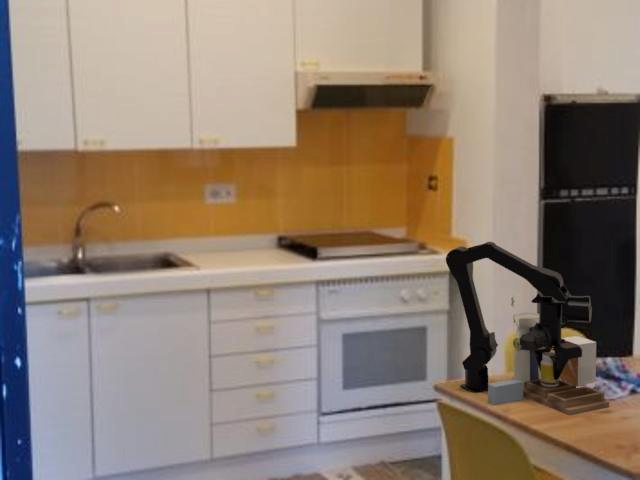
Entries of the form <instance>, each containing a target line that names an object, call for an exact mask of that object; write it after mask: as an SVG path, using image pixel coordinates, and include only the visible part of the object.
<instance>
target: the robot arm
mask: <svg viewBox="0 0 640 480" xmlns="http://www.w3.org/2000/svg"><path fill="white" fill-rule="evenodd" d="M484 259H488V260H490V261H492V262H494V263H495V264H498V265H499V266H501V267H503V268H505V269H506V270H508V271H510V272H512V273H514V274H516V275H517V276H519V277H521V278H522V279H525V281H527V282H528V283H529V284H530V285H531V286H532V288H534V289H535V290H537V291H538V293H537V294H536V296H535V297H534V298H532V300H531V303H533V304H538V305H539V307H538V308H539V313H538V314H539V323H536V325H535V330H533V331H530V332H528V333H527V334H523V335H522V336H521V337H520V345H522V347H523V349H526V350H529V351H531V352H532V353H533V354H534V355H535V357H536V360H537V363H538V366H539V369H540V372H541V361H542V360H543V359H542V354H543V353H545V352H551V351H554V353H555V355H551V356H549V357H550V358H551V360H552V361H553V375H554V380H558V379H559V377H560V375H561V373H562V371H563V369H564V367H565V365H566V364H567V362H568V361H569V359H573V358H579V357H582V349H581V347H580V346H577V345H574V344H565V345H561V343H565V339H562V338H563V337H562V329H564V328H566V324H565V323H563V322H562V321H563V320H562V318H565V319H567V322H576V323H591V321H592V316H593V315H592V313H593V307H592V301H591V296H590V295H583V296H581V295H571V292H570V291H569V290H568V289H567V287H566V286H565V284H564V279H563V276H562V274H561V273H559V272H557V271H554V270H551V269H549V268H546V267H541V266H537V265H535V264H532V263H530V262H528V261H526V260H525V259H522V258H521V257H519V256H517V255H515V254H513V252H512V253H511V252H510V251H508V250H506V249H504V248H502V247H501V246H499V245H497V244H496V243H495V242H493V241H486V242H485V243H481V244H477V245H473V246H470V247H466V246H458V247H456V248H453V249H452V250H450V251H449V252H448V253H447V254H446V256H445V263H446V265H447V267H448V270H449V272H450V274H451V275H452V277H453V278H454V280H455V282H456V284H457V286H458V291H459V294H460V298H461V302H462V307H463V310H464V313H465V318H466V322H467V325H468V328H469V355H468V356H467V357H466V358H465V359H464V360H463V361H462V362H461V363H462V366H463V367H462V368H463V370H464V371H465V372H464V376H465V378H464V379H465V380H464V382H465V383H464V384H460V387H461V388H463V389H465V390H467V391H470V392H472V393H477V392H482V391H488V384H489V368H488V366H487V364H489V362H490V361H491V360H492V358H494V357H495V355H496V353H497V348H498V346H499V344H498V342H497V340H496V334H495V331H492V332H489V330H488V329H487V327H486V323H485V321H484V317H483V313H482V309H481V305H480V301H479V297H478V293H477V290H476V286H475V281H474V278H473V277H474V262H478V261H480V260H484ZM562 308H563V309H562ZM562 315H563V316H562Z"/></svg>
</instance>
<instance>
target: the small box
mask: <svg viewBox="0 0 640 480" xmlns="http://www.w3.org/2000/svg"><path fill="white" fill-rule="evenodd" d="M561 338H562V339H565V343H561V345H565V344H574V345H577V346H580V347H581V349H582V357H579V358H573V359H569V361H568V362H567V364H566V365H565V367H564V369H563V371H562V373H561V375H560V377H559V379H561V380H563V381H566V382H568V383H571V384H574V385H576V386H577V387H578V386H581V385H585V384H588V383H593V382H596V381H597V379H596V377H597V373H596V372H597V341H594V340H591V339H589V338H585V337H582V336H579V335H574V336H567V337H561Z"/></svg>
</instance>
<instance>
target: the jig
mask: <svg viewBox="0 0 640 480" xmlns="http://www.w3.org/2000/svg"><path fill="white" fill-rule="evenodd" d="M524 397H525V398H527V399H528V400H532V401H534V402H537V403H539V404H542V405H544V406H546V407H549V408H551V409H554V410H556V411H558V412H561V413H563V414H566V415H568V416H571V415H575V414H580V413H586V412H590V411H595V410H601V409H604V408H609V407H610V401H607V400H605V392H603V391H600V390H598V389H596V388H590V387H587V386H586V387H580V388H576V385H574V384H571V383H568V382H565V381H563V380H560V379H559V385H558V386H556V387H546V386H543V385H541V379H537V380H532V381H526V382H524V386H523V398H524Z"/></svg>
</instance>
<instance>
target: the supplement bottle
mask: <svg viewBox="0 0 640 480" xmlns="http://www.w3.org/2000/svg"><path fill="white" fill-rule="evenodd" d="M551 355H555V352H553V351H552V352H545V353H543V354H542V359H543V360H542V361H541V385H543V386H546V387H556V386H558V385H559V379H558V380H554V375H553V361H552V360H551V358H550V357H549V356H551Z"/></svg>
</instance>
